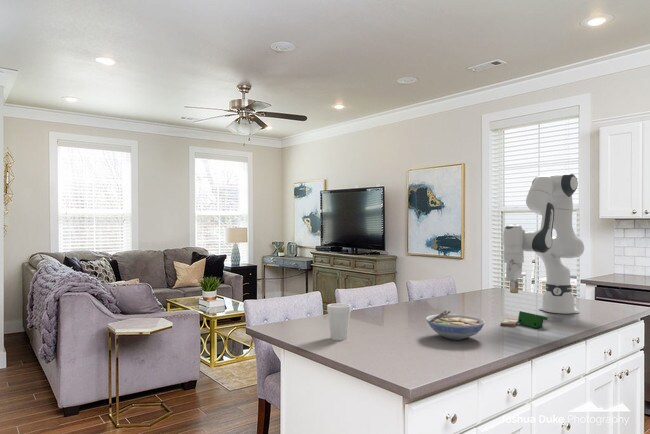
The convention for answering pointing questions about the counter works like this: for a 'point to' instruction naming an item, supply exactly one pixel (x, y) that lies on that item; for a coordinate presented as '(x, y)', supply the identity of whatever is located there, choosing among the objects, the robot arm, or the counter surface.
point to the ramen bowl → (455, 325)
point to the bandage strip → (509, 322)
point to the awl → (514, 289)
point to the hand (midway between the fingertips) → (514, 288)
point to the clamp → (531, 319)
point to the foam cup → (339, 320)
